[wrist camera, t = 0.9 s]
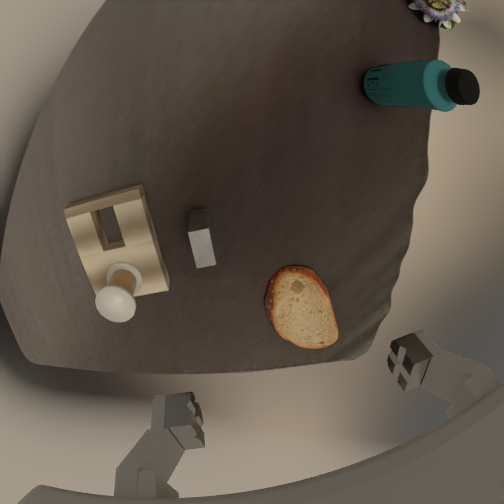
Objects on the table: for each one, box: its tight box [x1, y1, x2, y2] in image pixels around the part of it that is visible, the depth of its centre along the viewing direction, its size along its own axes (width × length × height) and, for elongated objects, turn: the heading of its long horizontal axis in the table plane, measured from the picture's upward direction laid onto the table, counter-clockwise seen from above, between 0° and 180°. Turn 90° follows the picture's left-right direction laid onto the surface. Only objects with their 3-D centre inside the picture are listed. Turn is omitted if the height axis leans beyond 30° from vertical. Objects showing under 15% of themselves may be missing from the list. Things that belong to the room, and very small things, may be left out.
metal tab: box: [188, 208, 216, 268], centre depth 40 cm, size 5×2×8 cm, turn 8°
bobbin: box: [95, 261, 143, 322], centre depth 39 cm, size 6×6×7 cm
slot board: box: [63, 184, 170, 297], centre depth 41 cm, size 16×12×3 cm
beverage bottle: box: [364, 60, 480, 112], centre depth 29 cm, size 6×7×20 cm
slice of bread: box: [265, 265, 338, 349], centre depth 53 cm, size 18×18×4 cm
